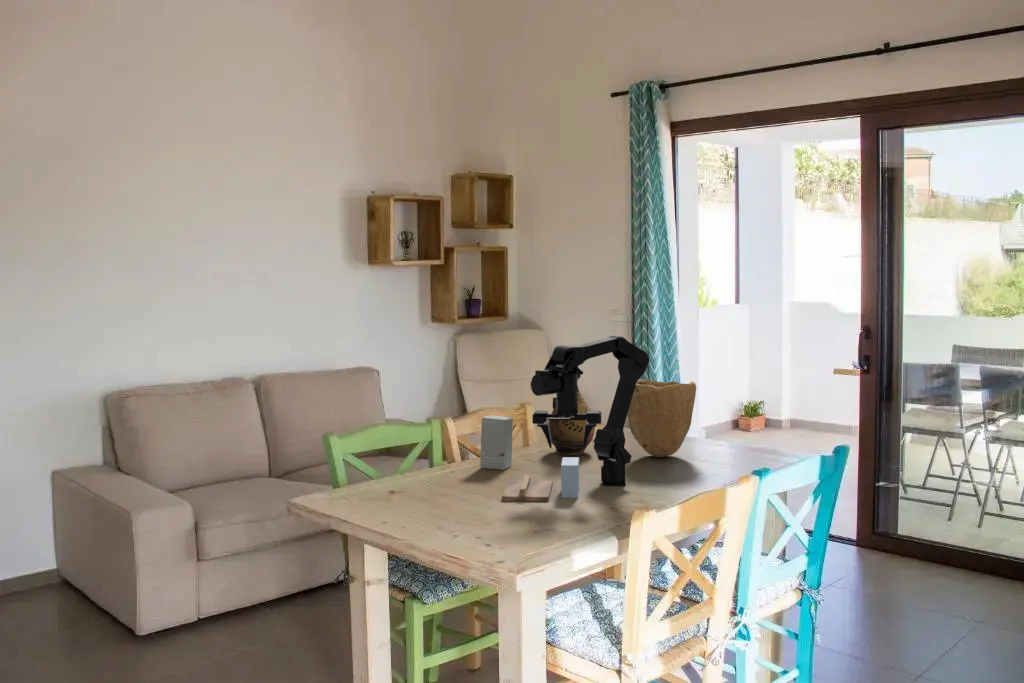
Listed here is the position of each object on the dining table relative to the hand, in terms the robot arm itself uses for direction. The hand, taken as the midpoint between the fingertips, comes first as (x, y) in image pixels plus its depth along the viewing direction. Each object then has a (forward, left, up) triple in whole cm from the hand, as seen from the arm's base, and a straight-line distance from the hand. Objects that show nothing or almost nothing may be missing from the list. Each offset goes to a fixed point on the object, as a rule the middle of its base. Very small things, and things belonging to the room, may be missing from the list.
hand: (567, 448), depth 269 cm
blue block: (-1, +1, -13) cm, 13 cm away
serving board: (+11, +1, -13) cm, 17 cm away
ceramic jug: (+1, -53, -13) cm, 55 cm away
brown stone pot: (-28, -46, -13) cm, 56 cm away
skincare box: (+23, -30, -13) cm, 40 cm away
